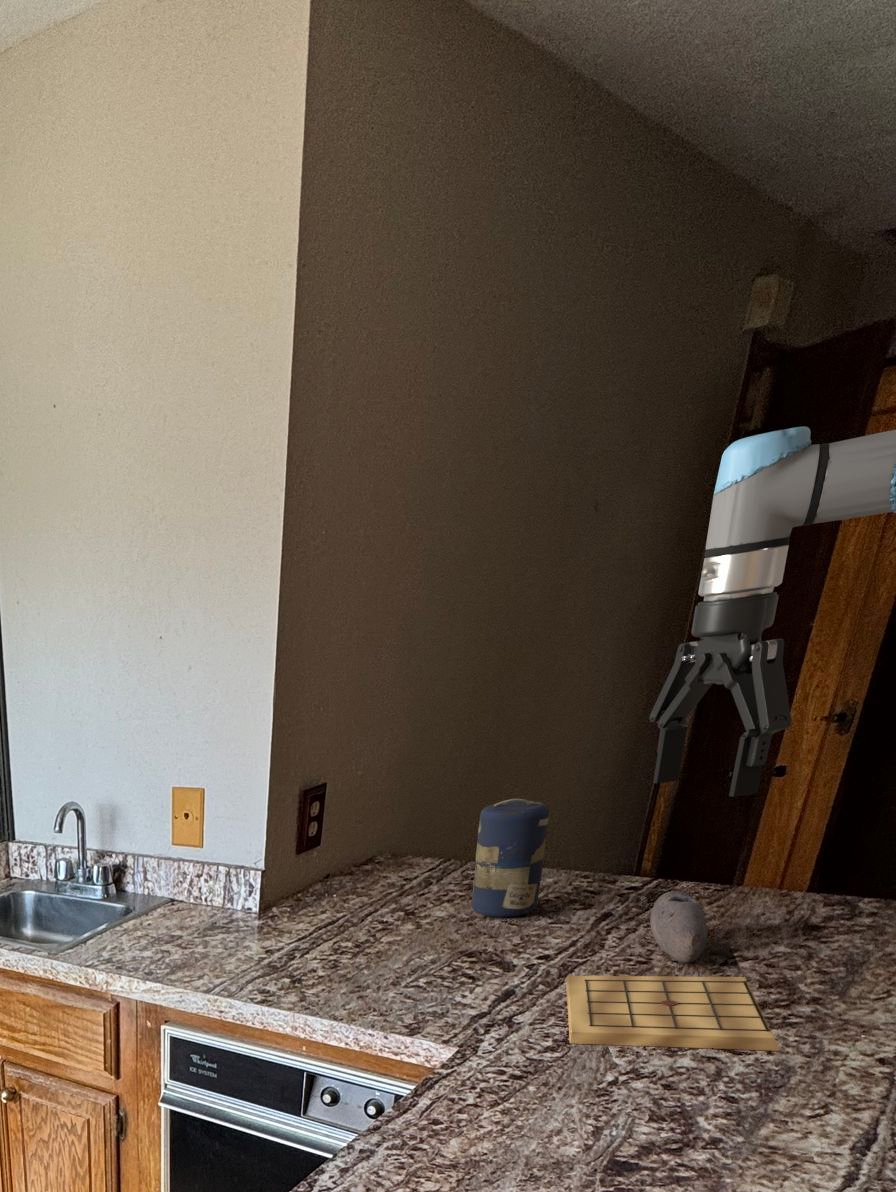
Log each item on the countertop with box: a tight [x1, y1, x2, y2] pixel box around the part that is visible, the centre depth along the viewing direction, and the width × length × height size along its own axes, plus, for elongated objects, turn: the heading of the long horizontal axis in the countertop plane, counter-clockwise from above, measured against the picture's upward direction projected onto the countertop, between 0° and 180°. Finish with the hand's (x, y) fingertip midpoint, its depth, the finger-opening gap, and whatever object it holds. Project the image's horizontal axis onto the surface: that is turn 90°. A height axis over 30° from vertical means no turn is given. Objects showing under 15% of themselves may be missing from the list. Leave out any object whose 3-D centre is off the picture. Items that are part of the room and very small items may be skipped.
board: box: [565, 975, 782, 1052], centre depth 117 cm, size 20×20×2 cm
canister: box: [471, 797, 550, 918], centre depth 157 cm, size 10×10×18 cm
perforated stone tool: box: [649, 890, 708, 964], centre depth 133 cm, size 15×5×7 cm, turn 156°
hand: (702, 788), depth 122 cm, fingers open, 13 cm apart
